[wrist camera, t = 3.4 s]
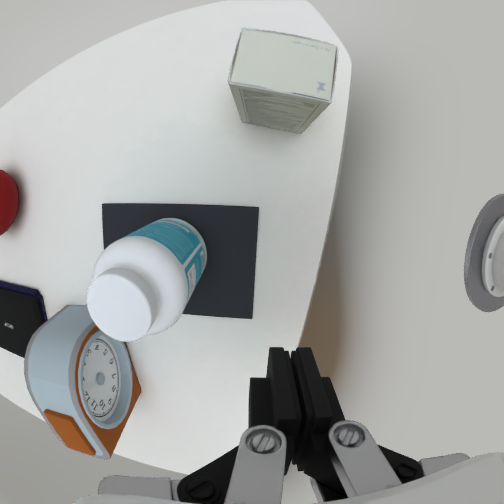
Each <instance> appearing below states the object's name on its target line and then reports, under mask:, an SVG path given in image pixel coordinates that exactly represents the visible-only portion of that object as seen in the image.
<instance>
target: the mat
mask: <svg viewBox="0 0 504 504" xmlns="http://www.w3.org/2000/svg"><path fill="white" fill-rule="evenodd" d="M258 212H259V207H245V206H224V205H196V204H102V219H103V240H104V250H105V249H106V248H107V247H108V246H109V245H110V244H112V243H114V242H115V241H117V240H119V239H121V238H123V237H125V236H127V235H129V234H131V233H133V232H135V231H137V230H138V229H140V228H142V227H144V226H146V225H148V224H150V223H153V222H155V221H157V220H160V219H164V218H176V219H180V220H183V221H185V222H187V223H189V224H190V225H192V226H193V227H194V228H195V229H196V230H197V231H198V232H199V233H200V235H201V236H202V238H203V240H204V243H205V246H206V250H207V261H206V266H205V269H204V271H203V273H202V275H201V277H200V279H199V281H198V283H197V285H196V287H195V289H194V291H193V293H192V295H191V297H190V299H189V301H188V303H187V305H186V307H185V309H184V311H183V313H182V314H191V315H202V316H215V317H230V318H247V319H252V313H253V297H254V280H255V263H256V246H257V229H258Z"/></svg>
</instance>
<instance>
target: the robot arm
mask: <svg viewBox="0 0 504 504" xmlns="http://www.w3.org/2000/svg"><path fill="white" fill-rule="evenodd" d="M482 280H483V284H484V287H485V289H486V290H487V291H488V293H490V294H491V295H493V296H495V297H502V296H504V216H502V217H501V218H500V219H499V220H498V221H497V222H496V223H495V225H494V226H493V228H492V230H491V232H490V234H489V236H488V238H487V241H486V245H485V248H484V253H483V258H482ZM291 459H292V464H293V465H295V464H297V468H298V471H304V473H305V474H307V475H308V476H310V482H311V485H312V487H313V490H314V492H315V495H316V498H317V500H318V503H315V504H504V453H488V454H483V455H479V456H475V457H472V458H470V457H469V456H467V455H465V454H463V453H456V454H451V455H446V456H440V457H433V458H425V459H421V460H420V461H419V462H417V461H416V460H414V459H412V458H409V457H406V456H404V455H401V454H399V453H396V452H394V451H392V450H389V449H387V448H384V447H382V446H380V445H377V444H376V442H375V440H374V439H373V437H372V436H371V434H370V433H369V431H368V429H367V428H366V427H365V426H364V425H362V424H361V423H358V422H356V421H350V420H346V421H345V418H344V415H343V412H342V410H341V407H340V404H339V401H338V398H337V396H336V393H335V390H334V388H333V385H332V382H331V380H330V378H329V377H321V376H320V373H319V371H318V368H317V365H316V361H315V359H314V356H313V353H312V350H311V348H310V347H309V348H308V347H307V348H306V347H305V348H297V349H296V351H292V352H291V358H290V356H289V351H284V348H283V347H270V348H269V357H268V366H267V375H266V378H250V389H249V429H247V430H246V431H245V432H244V433H243V434H242V437H241V440H240V444H239V445H238V446H237V447H235V448H234V449H232V450H231V451H229V452H227V453H226V454H224V455H223V456H221V457H219V458H218V459H216V460H214V461H213V462H211V463H209V464H208V465H206V466H204V467H202V468H201V469H199V470H197V471H195V472H193V473H192V474H190V475H188V476H186V477H185V478H183V479H182V480H171V479H170V478H151V477H129V476H118V475H113V476H108V477H105V478H104V479H103V480H102V481H101V482H100V484H99V487H98V494H97V495H89V496H85V497H82V498H79V499H77V500H76V501H74V502H73V503H72V504H281V499H282V489H283V480H284V476H285V475H286V474H287V471H288V468H289V465H290V462H291Z"/></svg>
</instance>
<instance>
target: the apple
mask: <svg viewBox="0 0 504 504" xmlns="http://www.w3.org/2000/svg"><path fill="white" fill-rule="evenodd" d="M18 199H19V198H18V190H17V185H16V183H15V181H14V179H13V178H12V177H11V176H10V175H9V174H8V173H6V172H5V171H3V170H0V235H2V234H3V233H4V232H6V231H7V230H8V228H9V227H10V226H11V224H12V223H13V221H14V218H15V216H16V214H17V210H18Z"/></svg>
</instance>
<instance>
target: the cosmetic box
mask: <svg viewBox="0 0 504 504" xmlns="http://www.w3.org/2000/svg"><path fill="white" fill-rule="evenodd" d="M337 61H338V47H337V46H336V45H333V44H330V43H327V42H323V41H320V40H315V39H312V38H307V37H303V36H298V35H293V34H287V33H281V32H275V31H269V30H260V29H251V28H242V29H241V32H240V35H239V39H238V42H237V45H236V49H235V53H234V56H233V60H232V64H231V68H230V72H229V77H228V83H229V86H230V89H231V91H232V94H233V97H234V100H235V103H236V106H237V109H238V112H239V115H240V118H241V121H242V122H244V123H249V124H254V125H259V126H264V127H269V128H275V129H280V130H285V131H290V132H295V133H302V132H303V131H304V130H305V129H306V128H307V127H308V126H309V125H310V124H311V123H312V122H313V121H314V120H315V119H316V118H317V117H318V116H319V115H320V114H321V113H322V112H323V111H324V110H325V109H326V108H327V107H328V106H329V105H330V104H331V103H332V97H333V92H334V85H335V78H336V70H337Z"/></svg>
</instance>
